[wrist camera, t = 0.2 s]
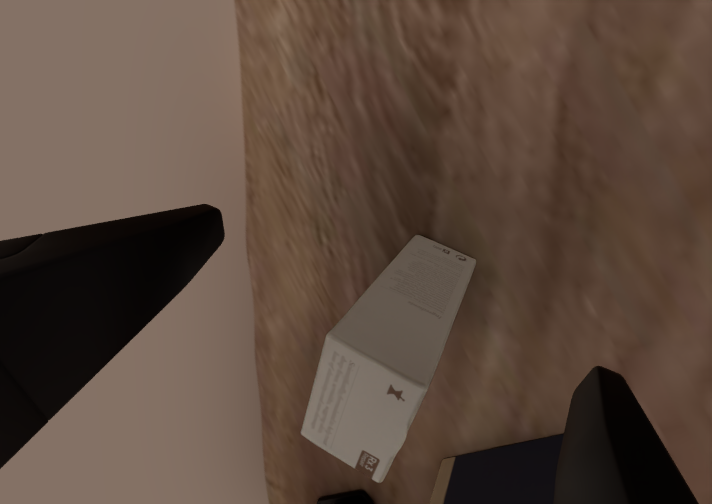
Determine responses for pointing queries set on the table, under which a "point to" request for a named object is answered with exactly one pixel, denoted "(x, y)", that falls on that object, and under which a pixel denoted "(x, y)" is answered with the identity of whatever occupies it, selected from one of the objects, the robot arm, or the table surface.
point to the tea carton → (501, 475)
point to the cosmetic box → (386, 356)
